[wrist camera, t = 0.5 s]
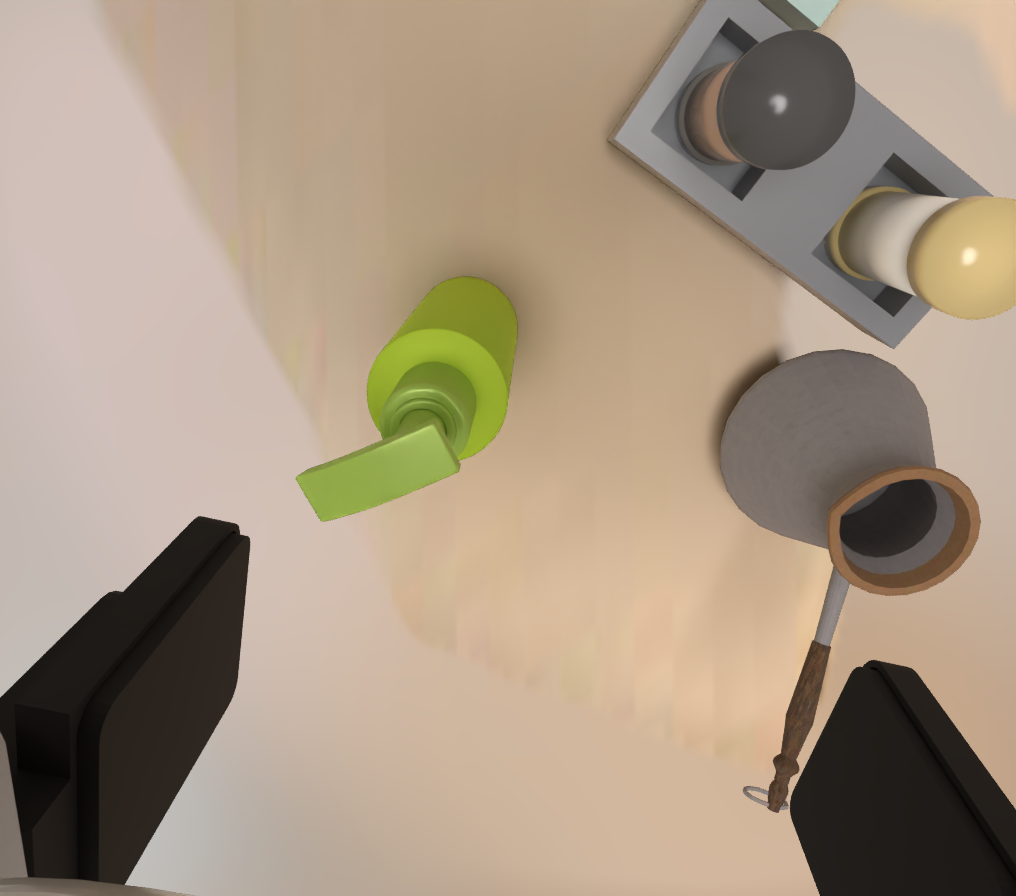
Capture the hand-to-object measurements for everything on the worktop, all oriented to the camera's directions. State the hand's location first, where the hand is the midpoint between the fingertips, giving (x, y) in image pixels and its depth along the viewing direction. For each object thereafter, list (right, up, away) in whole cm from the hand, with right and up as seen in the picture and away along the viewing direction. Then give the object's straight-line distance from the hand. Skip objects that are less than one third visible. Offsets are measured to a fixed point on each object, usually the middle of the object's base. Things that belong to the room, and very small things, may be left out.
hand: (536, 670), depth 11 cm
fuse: (+19, +15, +27) cm, 36 cm away
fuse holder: (+15, +18, +27) cm, 36 cm away
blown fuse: (+10, +20, +26) cm, 34 cm away
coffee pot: (+16, 0, +35) cm, 38 cm away
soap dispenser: (-3, +10, +31) cm, 33 cm away
